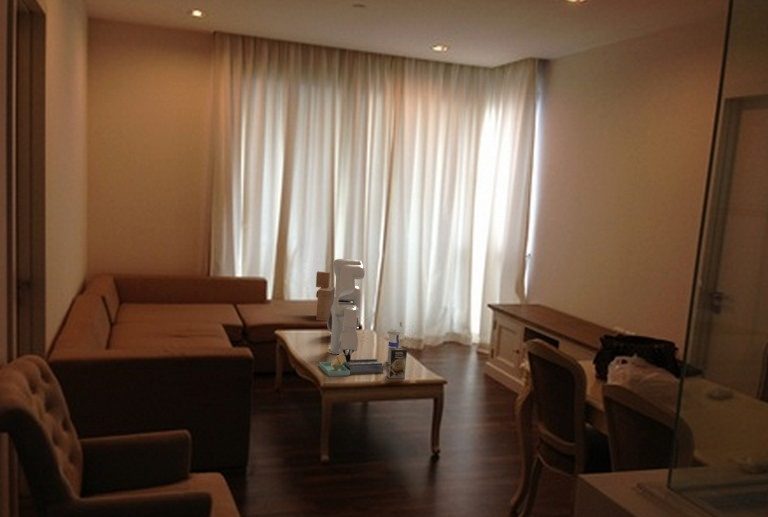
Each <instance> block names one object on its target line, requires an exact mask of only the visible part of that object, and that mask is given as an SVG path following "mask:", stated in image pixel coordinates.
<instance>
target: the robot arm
mask: <svg viewBox="0 0 768 517" xmlns="http://www.w3.org/2000/svg"><path fill="white" fill-rule="evenodd" d="M332 267H333V268H332V269H333V273H334V276H335V286H334V287H335V294H334V301H333V305H332V308H331V310H332V332H330V334H331V337H330V348H329V349H327V352H328V354H331V353H332V354H331V355H337V354H342V353H343V354H344V355H345V358H346V361H347V362H350V359H351V356H352V354H353V353H354V352H357V351H358V345H359V339H358V338H359V336H358V330H359V326H358V327H356V324H357V317H358V318H359V316H360V311H361V299H362V298H361V296H362V294H361V288H360V287H359V286H358V285H356V283H355V281H356V280H363V279H364V278H365V271H366V270H365V267H364V264H363V262H362V260H360V259H349V258H337V259H334V261H333V264H332ZM338 300H344V301H351V303H346V302H338Z"/></svg>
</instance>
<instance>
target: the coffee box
mask: <svg viewBox="0 0 768 517" xmlns="http://www.w3.org/2000/svg"><path fill="white" fill-rule="evenodd" d="M407 355H408V350H407V349H406V348H405V347H399V348H389V352H388V363H386V364H387V365H386V376H387V378H389V379H405V378H406V367H407V366H406V365H407Z"/></svg>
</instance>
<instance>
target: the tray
mask: <svg viewBox="0 0 768 517" xmlns="http://www.w3.org/2000/svg"><path fill="white" fill-rule="evenodd" d="M332 362H333V361H318V367H319V368H320V369H321V370H322V372H324V373H325V375H326V376H328V377H347V376H348V377H349V376H351V374H350V371H349V370H348V369H347V368H346V367H345V366H344V365H342V364H340V365H341V366H342V367H341V368H339V369H338V370H337V371H336V370H334V368H333V367H332V366H331V365H330V364H331V363H332Z"/></svg>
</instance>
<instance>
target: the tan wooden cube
mask: <svg viewBox="0 0 768 517" xmlns="http://www.w3.org/2000/svg"><path fill="white" fill-rule="evenodd" d="M331 362H332V363H331V364H330V365H331V366H332V367H333V368H334V370H336V371H337V370H338V369H339V368H341V367H342V366H341V365H340V364H339V362H338V361H337V359H334V360H332V361H331Z"/></svg>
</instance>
